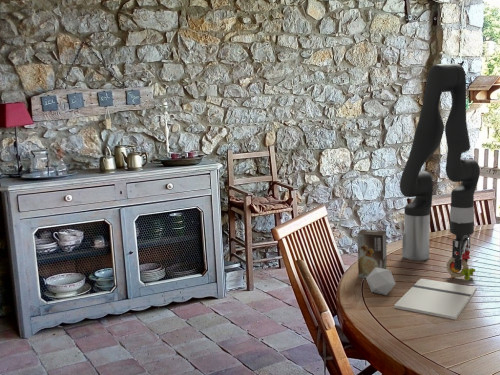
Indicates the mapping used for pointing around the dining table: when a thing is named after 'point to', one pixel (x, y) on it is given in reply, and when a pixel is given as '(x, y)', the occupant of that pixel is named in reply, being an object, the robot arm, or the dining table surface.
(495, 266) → the dining table surface
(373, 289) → the die
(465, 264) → the bird rattle
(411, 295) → the mat
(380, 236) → the coffee box
